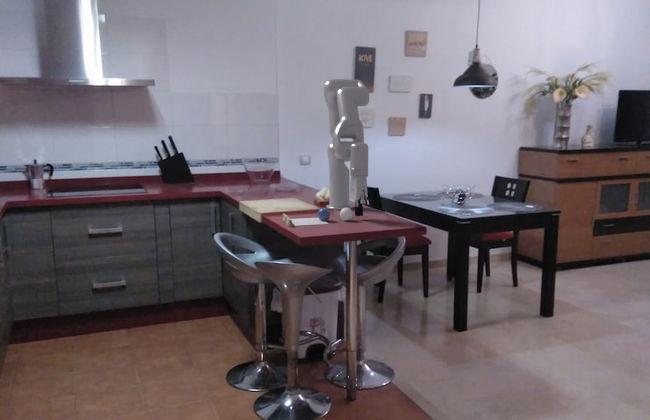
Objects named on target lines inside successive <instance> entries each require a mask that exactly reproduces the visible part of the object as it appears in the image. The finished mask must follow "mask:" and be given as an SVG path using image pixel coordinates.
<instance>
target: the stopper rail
mask: <svg viewBox="0 0 650 420" xmlns="http://www.w3.org/2000/svg"><path fill="white" fill-rule="evenodd" d="M291 219H292V218H290V217H289V216H288V215H287V214H286V213H282V220H283V222H284V223H286V225H287V226H288V227H290V228H292V227H293V223H292V220H291Z"/></svg>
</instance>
